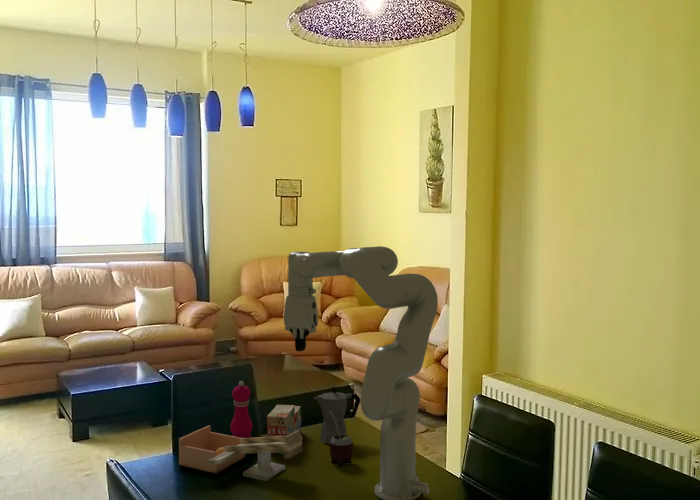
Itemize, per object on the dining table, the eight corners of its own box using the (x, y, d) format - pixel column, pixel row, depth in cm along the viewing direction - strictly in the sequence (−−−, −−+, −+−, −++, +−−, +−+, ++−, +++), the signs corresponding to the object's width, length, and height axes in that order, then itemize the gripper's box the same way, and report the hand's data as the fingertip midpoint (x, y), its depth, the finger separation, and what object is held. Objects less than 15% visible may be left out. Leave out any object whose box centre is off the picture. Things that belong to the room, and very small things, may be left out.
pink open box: (244, 457, 207) (244, 432, 207) (216, 473, 195) (216, 446, 194) (208, 449, 213) (208, 425, 213) (179, 464, 201) (178, 438, 200)
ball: (233, 456, 203) (228, 443, 203) (225, 460, 199) (220, 447, 200) (223, 460, 205) (218, 447, 205) (215, 464, 201) (210, 451, 202)
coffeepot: (314, 445, 218) (314, 391, 217) (313, 435, 227) (313, 383, 226) (361, 444, 219) (361, 390, 218) (358, 434, 228) (359, 382, 227)
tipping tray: (304, 449, 193) (300, 429, 194) (273, 469, 179) (269, 446, 179) (243, 452, 203) (240, 433, 204) (209, 471, 189) (206, 449, 189)
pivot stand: (285, 469, 198) (285, 447, 198) (266, 481, 189) (266, 458, 189) (262, 464, 202) (262, 443, 201) (243, 475, 193) (242, 453, 192)
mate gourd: (351, 467, 199) (351, 418, 198) (325, 466, 200) (325, 417, 199) (353, 458, 207) (354, 410, 206) (328, 457, 207) (328, 410, 207)
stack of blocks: (283, 431, 232) (283, 396, 231) (301, 432, 231) (301, 397, 230) (266, 453, 211) (266, 415, 210) (286, 455, 210) (286, 416, 209)
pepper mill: (226, 441, 221) (225, 382, 219) (239, 435, 227) (239, 377, 226) (243, 445, 217) (243, 385, 216) (256, 438, 224) (256, 380, 223)
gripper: (327, 291, 206) (327, 350, 208) (286, 289, 213) (286, 345, 214) (315, 294, 200) (315, 355, 201) (273, 291, 206) (273, 350, 208)
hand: (300, 350), depth 208 cm, fingers closed
